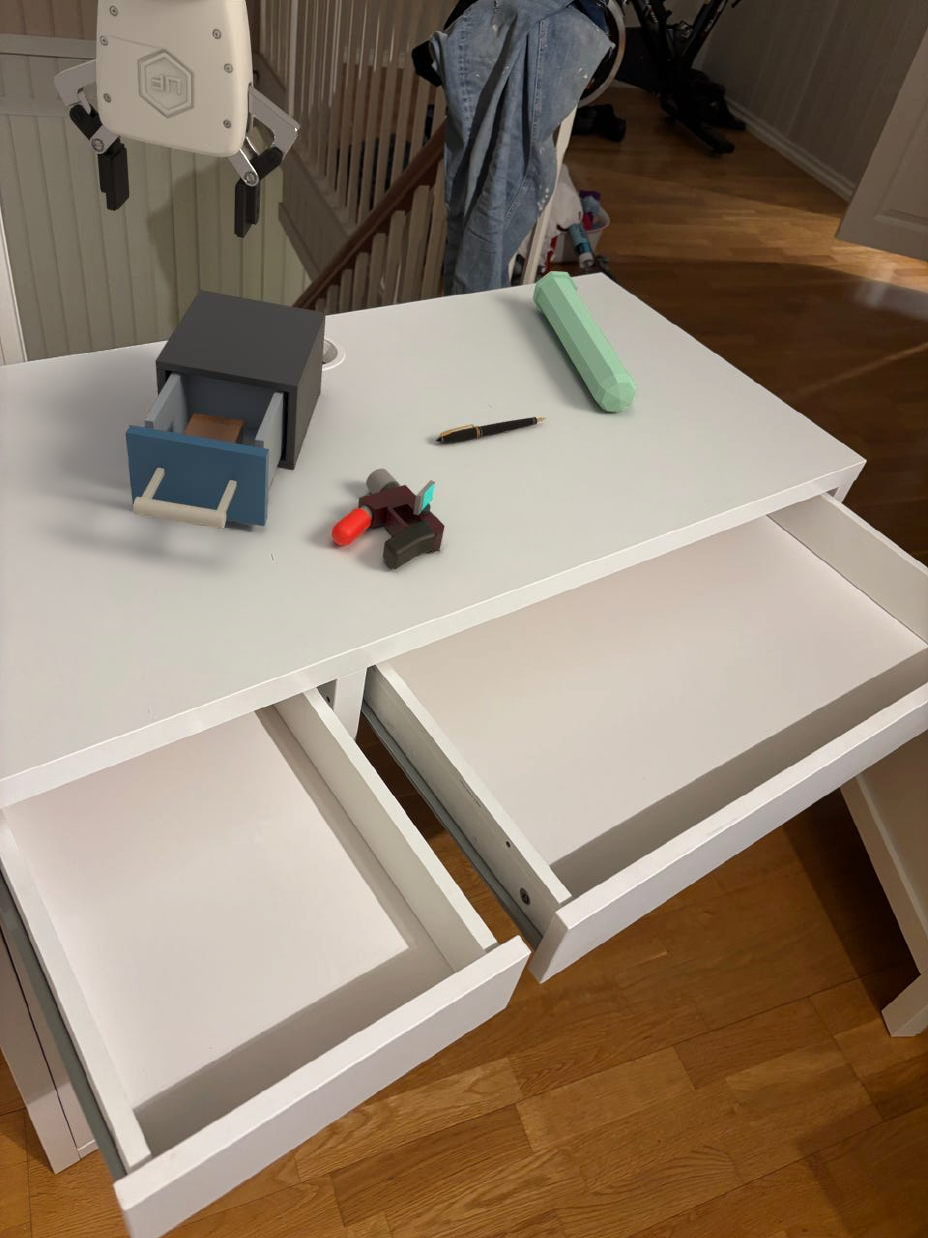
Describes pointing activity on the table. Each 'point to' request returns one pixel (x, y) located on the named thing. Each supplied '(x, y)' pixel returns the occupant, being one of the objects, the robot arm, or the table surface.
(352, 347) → the table surface
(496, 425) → the fountain pen
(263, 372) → the cabinet
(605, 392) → the container
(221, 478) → the drawer
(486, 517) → the table surface
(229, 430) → the block
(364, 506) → the toy gun
